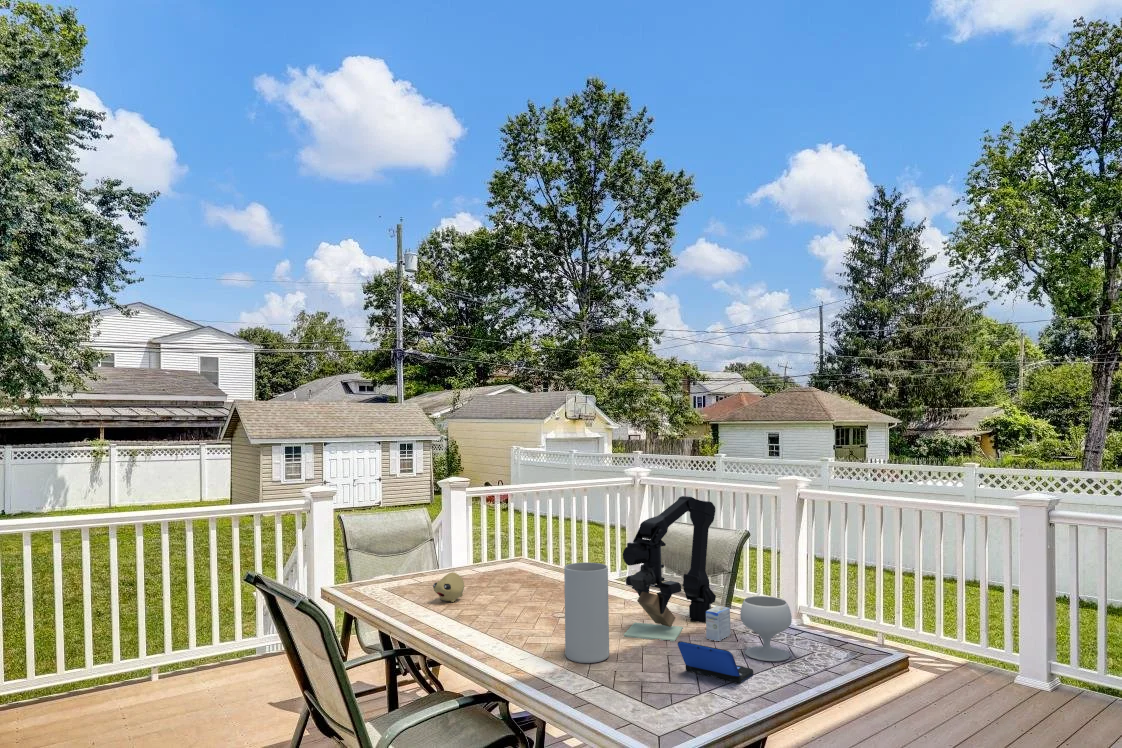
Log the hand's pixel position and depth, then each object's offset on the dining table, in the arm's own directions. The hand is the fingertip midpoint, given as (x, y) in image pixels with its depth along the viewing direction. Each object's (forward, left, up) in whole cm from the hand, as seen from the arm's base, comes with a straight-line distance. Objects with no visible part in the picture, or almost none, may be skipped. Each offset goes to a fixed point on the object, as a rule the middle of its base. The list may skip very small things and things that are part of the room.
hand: (653, 611), depth 211 cm
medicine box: (-20, -1, -7) cm, 21 cm away
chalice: (-35, +11, -7) cm, 37 cm away
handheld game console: (-23, +31, -7) cm, 39 cm away
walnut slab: (-3, -5, -4) cm, 7 cm away
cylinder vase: (+13, +28, -7) cm, 32 cm away
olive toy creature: (+82, -14, -7) cm, 83 cm away
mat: (0, 0, -6) cm, 6 cm away
